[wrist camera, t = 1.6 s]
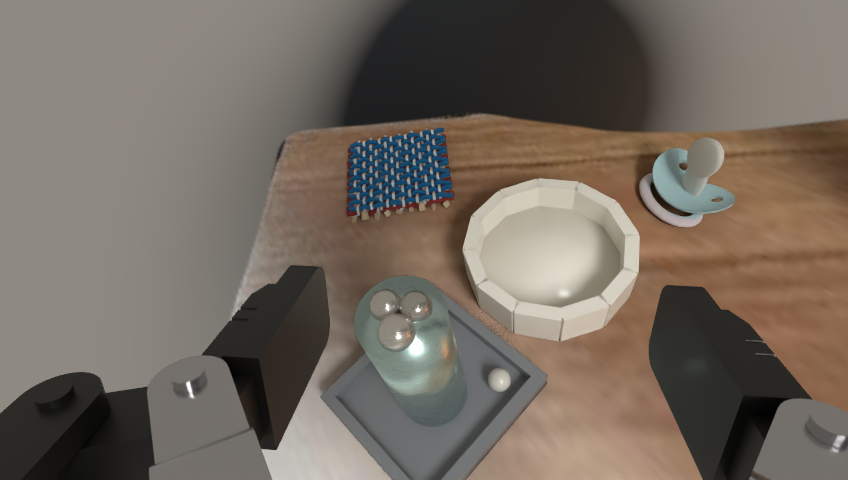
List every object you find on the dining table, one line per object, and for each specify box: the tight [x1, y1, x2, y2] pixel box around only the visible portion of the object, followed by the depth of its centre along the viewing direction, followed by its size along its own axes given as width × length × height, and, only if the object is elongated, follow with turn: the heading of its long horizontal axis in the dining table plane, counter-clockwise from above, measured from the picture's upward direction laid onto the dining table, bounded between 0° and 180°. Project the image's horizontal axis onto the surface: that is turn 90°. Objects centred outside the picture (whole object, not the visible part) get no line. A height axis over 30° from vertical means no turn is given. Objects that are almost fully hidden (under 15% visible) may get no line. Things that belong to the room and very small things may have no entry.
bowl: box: [463, 178, 640, 341], centre depth 39 cm, size 13×13×4 cm
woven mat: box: [347, 128, 454, 223], centre depth 49 cm, size 10×11×2 cm
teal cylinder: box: [354, 275, 468, 427], centre depth 30 cm, size 5×5×13 cm
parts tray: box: [320, 287, 548, 480], centre depth 35 cm, size 12×11×3 cm
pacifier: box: [639, 138, 735, 228], centre depth 40 cm, size 7×6×6 cm
